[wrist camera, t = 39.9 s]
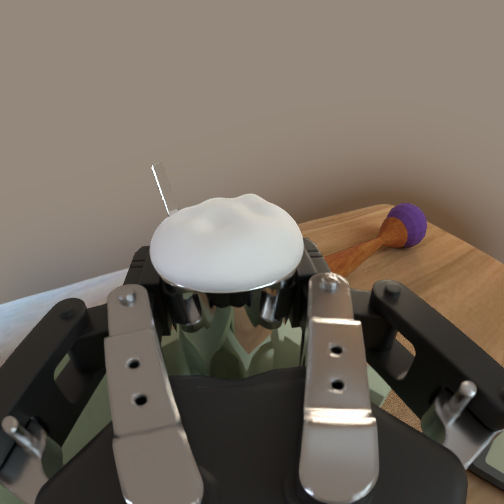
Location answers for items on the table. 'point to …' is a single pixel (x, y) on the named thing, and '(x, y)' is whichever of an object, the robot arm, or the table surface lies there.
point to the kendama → (383, 238)
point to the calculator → (491, 462)
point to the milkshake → (227, 280)
